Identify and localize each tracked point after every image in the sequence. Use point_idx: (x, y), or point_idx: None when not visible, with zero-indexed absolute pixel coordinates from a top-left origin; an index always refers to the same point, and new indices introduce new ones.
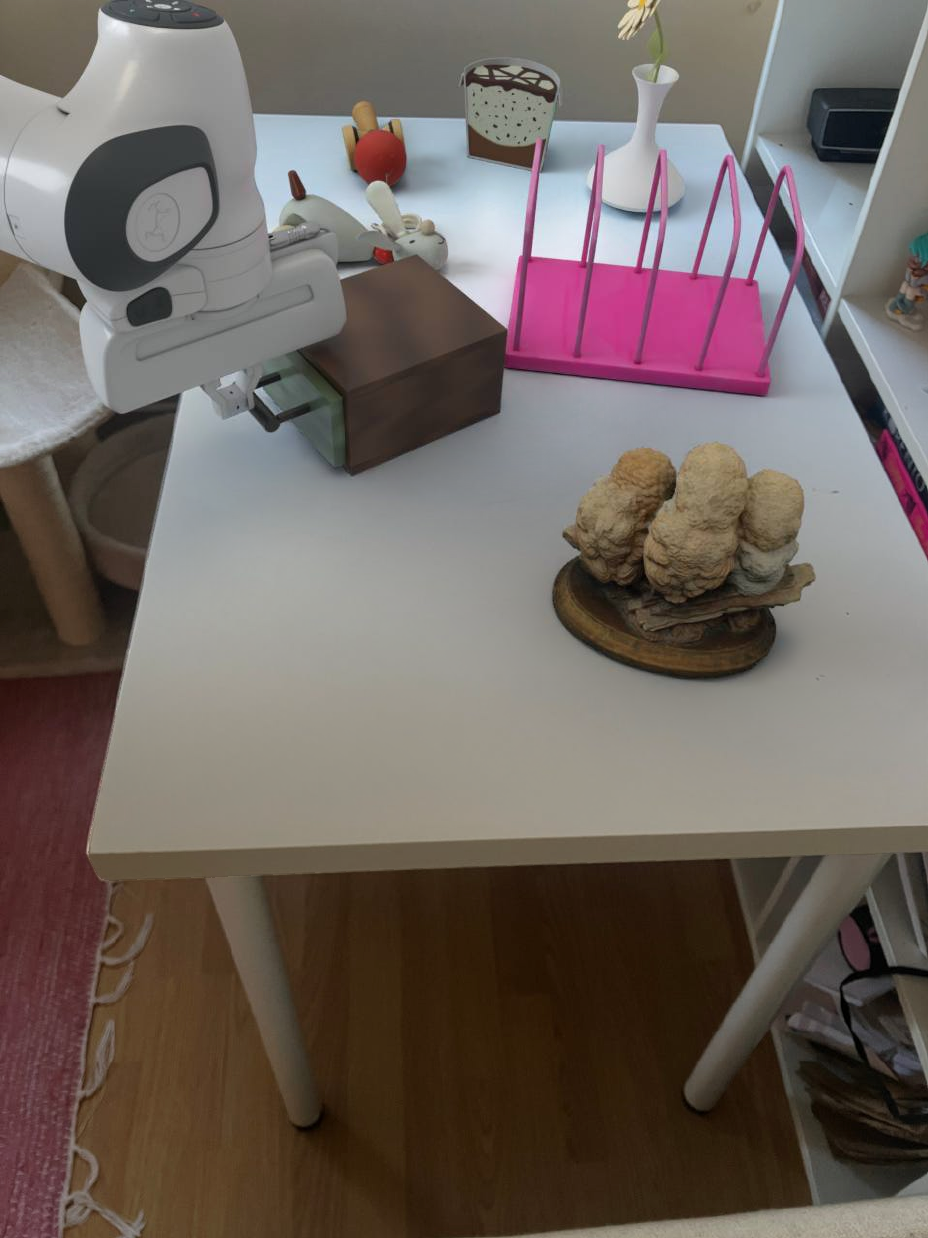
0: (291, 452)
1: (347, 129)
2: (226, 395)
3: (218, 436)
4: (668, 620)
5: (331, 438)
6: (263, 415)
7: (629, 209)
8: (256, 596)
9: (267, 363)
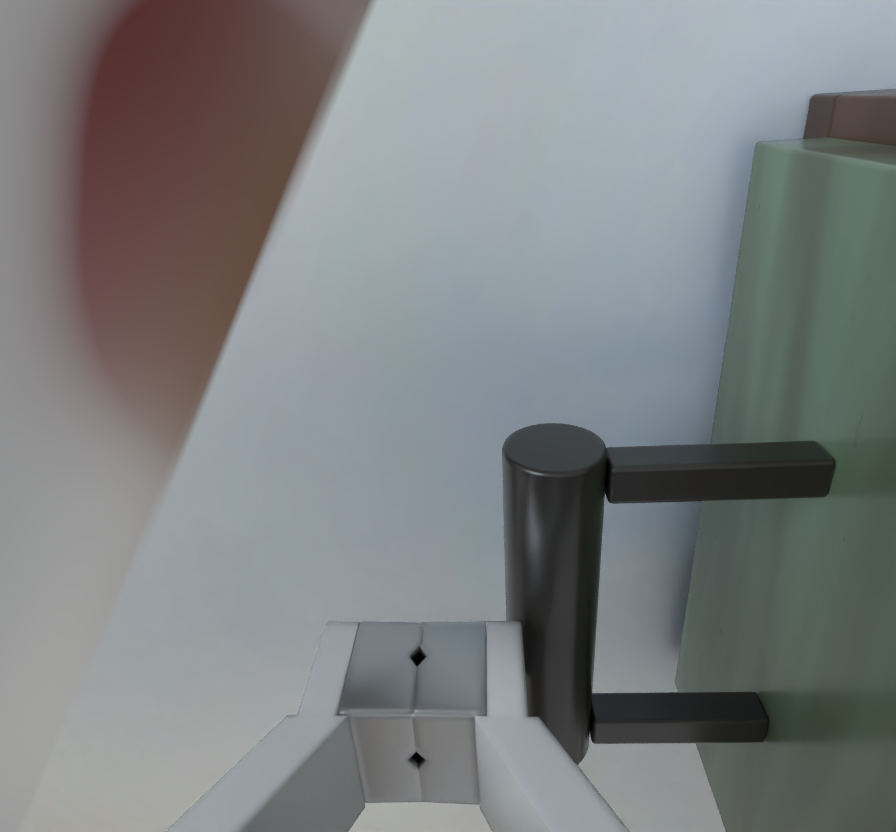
0: (616, 505)
1: None
2: (378, 768)
3: (415, 297)
4: None
5: (716, 801)
6: None
7: None
8: None
9: (857, 320)
